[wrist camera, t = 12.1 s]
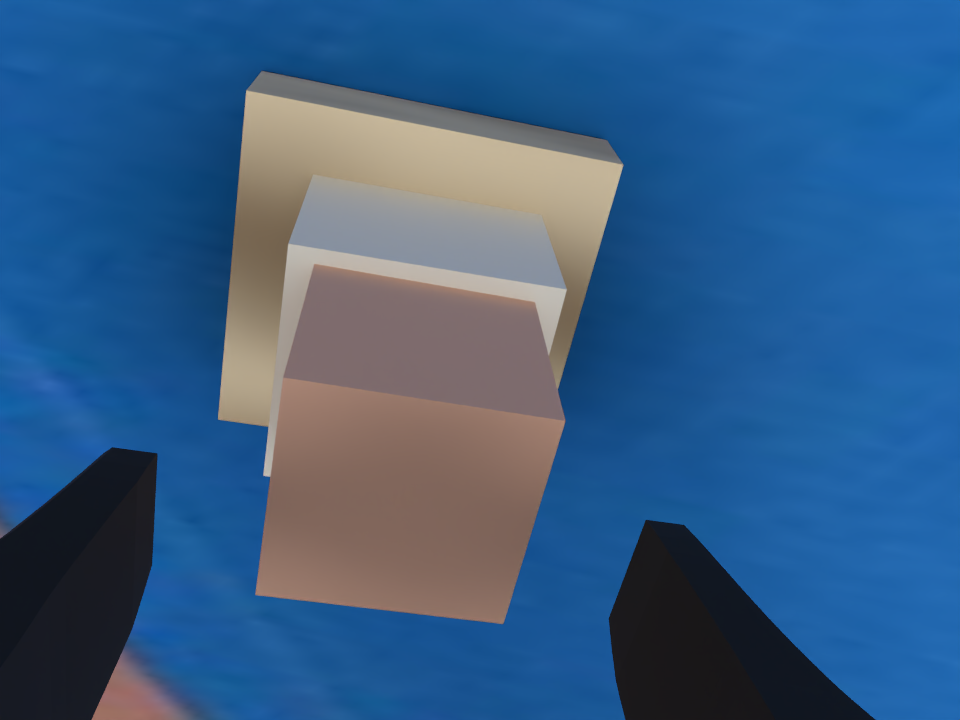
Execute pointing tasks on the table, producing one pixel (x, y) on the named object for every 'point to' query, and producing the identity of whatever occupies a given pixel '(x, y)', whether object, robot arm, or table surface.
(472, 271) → the cream cube
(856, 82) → the table surface
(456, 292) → the terracotta cube
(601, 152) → the oak slab
